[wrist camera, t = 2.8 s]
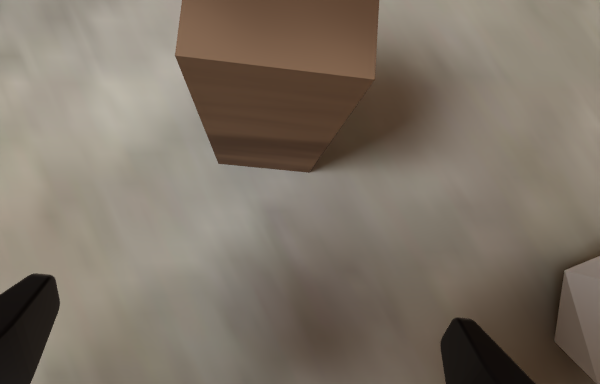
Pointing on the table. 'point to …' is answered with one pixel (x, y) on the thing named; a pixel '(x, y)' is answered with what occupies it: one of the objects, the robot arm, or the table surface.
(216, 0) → the walnut block
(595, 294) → the die
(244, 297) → the table surface
